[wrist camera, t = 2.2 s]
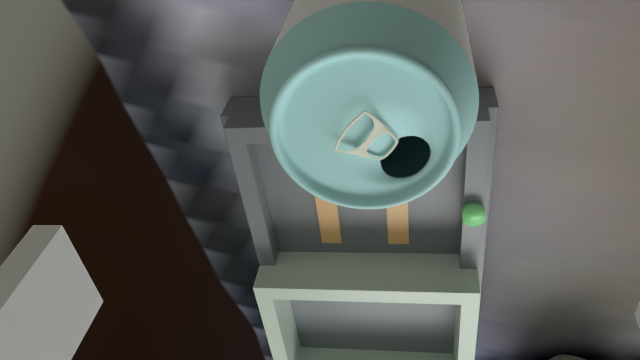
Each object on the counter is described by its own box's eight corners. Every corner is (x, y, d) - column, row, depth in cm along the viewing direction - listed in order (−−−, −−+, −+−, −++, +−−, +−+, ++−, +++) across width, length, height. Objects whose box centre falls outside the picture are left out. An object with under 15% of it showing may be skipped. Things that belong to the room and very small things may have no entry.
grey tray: (230, 97, 30) (203, 149, 26) (493, 87, 28) (507, 142, 24) (289, 339, 43) (277, 397, 40) (471, 347, 41) (477, 410, 37)
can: (461, -92, 23) (495, 19, 14) (453, 62, 27) (476, 227, 18) (297, -78, 24) (224, 33, 15) (314, 67, 28) (267, 224, 19)
